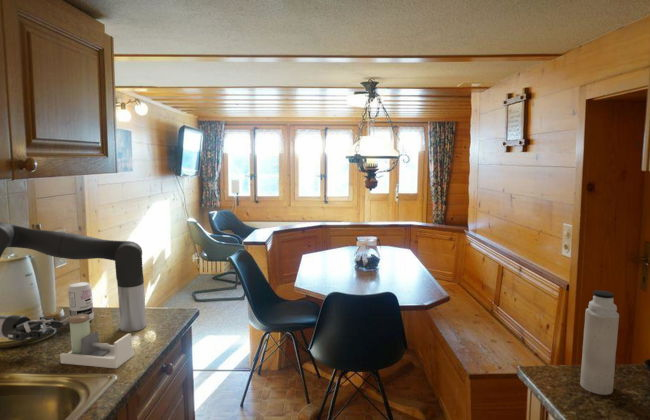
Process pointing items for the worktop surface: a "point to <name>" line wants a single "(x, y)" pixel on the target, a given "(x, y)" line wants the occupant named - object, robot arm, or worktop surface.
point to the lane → (112, 359)
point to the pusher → (93, 345)
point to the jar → (78, 331)
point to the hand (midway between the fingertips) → (52, 329)
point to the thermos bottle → (599, 344)
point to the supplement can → (81, 299)
